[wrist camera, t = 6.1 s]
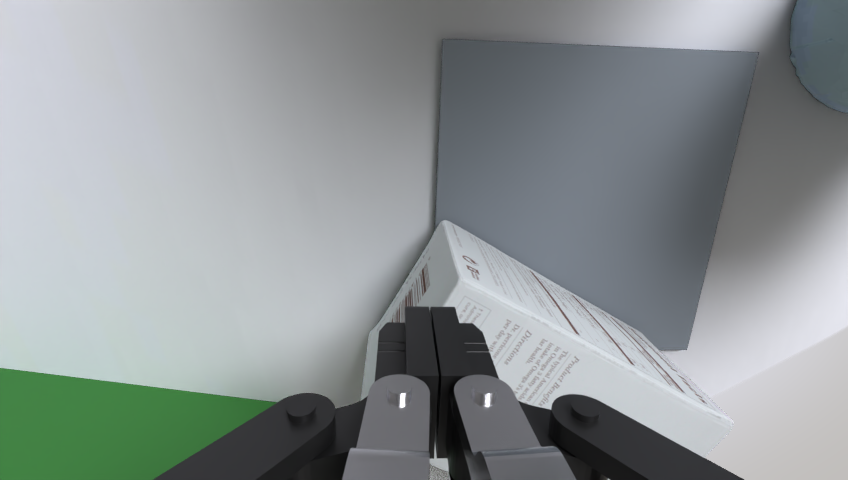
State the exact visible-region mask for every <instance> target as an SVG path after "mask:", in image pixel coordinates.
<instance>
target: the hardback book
mask: <svg viewBox="0 0 848 480" xmlns="http://www.w3.org/2000/svg"><path fill="white" fill-rule="evenodd" d="M276 403H277V402H269V401H261V400H253V399H245V398H237V397H229V396H221V395H213V394H205V393H197V392H189V391H181V390H173V389H165V388H157V387H149V386H141V385H133V384H125V383H117V382H109V381H100V380H92V379H84V378H76V377H68V376H60V375H52V374H44V373H36V372H28V371H20V370H12V369H4V368H0V480H153V479H154V478H156V477H158V476H159V475H161V474H162V473H164V472H166V471H167V470H169V469H171V468H172V467H174V466H175V465H177V464H179V463H180V462H182V461H184V460H185V459H187V458H188V457H190V456H192V455H193V454H195V453H197V452H198V451H200V450H201V449H203V448H205V447H206V446H208V445H209V444H211V443H213V442H214V441H216V440H218V439H219V438H221V437H222V436H224V435H226V434H227V433H229V432H231V431H232V430H234V429H235V428H237V427H239V426H240V425H242V424H244V423H245V422H247V421H248V420H250V419H252V418H253V417H255V416H257V415H258V414H260V413H261V412H263V411H265V410H266V409H268V408H269V407H271V406H273V405H274V404H276Z"/></svg>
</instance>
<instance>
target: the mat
mask: <svg viewBox="0 0 848 480" xmlns="http://www.w3.org/2000/svg"><path fill="white" fill-rule="evenodd" d="M758 55H759V52H741V51H717V50H693V49H670V48H646V47H622V46H599V45H575V44H552V43H528V42H504V41H481V40H457V39H443V43H442V67H441V91H440V115H439V139H438V163H437V187H436V211H435V230H436V228H437V227H438V225H439V224H440V222H441V221H443V220H447V221H450V222H451V223H453V224H455V225H457V226H459V227H461V228H462V229H464V230H466V231H468V232H469V233H471V234H473V235H474V236H476V237H478V238H479V239H481V240H483V241H484V242H486V243H488V244H490V245H491V246H493V247H495V248H496V249H498V250H500V251H501V252H503V253H505V254H506V255H508V256H510V257H511V258H513V259H515V260H517V261H518V262H520V263H522V264H523V265H525V266H527V267H528V268H530V269H532V270H533V271H535V272H537V273H539V274H540V275H542V276H544V277H545V278H547V279H549V280H551V281H552V282H554V283H556V284H557V285H559V286H561V287H563V288H564V289H566V290H568V291H570V292H571V293H573V294H575V295H577V296H579V297H580V298H582V299H584V300H586V301H587V302H589V303H591V304H593V305H594V306H596V307H598V308H600V309H601V310H603V311H605V312H607V313H608V314H610V315H612V316H613V317H615V318H617V319H619V320H620V321H622V322H624V323H626V324H627V325H629V326H631V327H633V328H634V329H636V330H638V331H639V332H641V333H642V334H643V335H644V336H645V337H646V338H647V339H648V340H649V341H650V342H651V343H652V344H653V345H654V346H655V347H656V348H657V349H658V350H687V348H688V343H689V339H690V335H691V331H692V327H693V323H694V319H695V315H696V310H697V306H698V302H699V298H700V294H701V290H702V286H703V282H704V277H705V273H706V269H707V265H708V261H709V257H710V253H711V249H712V244H713V240H714V236H715V232H716V228H717V224H718V220H719V216H720V211H721V207H722V203H723V199H724V195H725V191H726V187H727V183H728V178H729V174H730V170H731V166H732V162H733V158H734V154H735V150H736V145H737V141H738V137H739V133H740V129H741V125H742V121H743V117H744V112H745V108H746V104H747V100H748V96H749V92H750V88H751V84H752V79H753V75H754V71H755V67H756V63H757V59H758Z"/></svg>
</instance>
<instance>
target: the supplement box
mask: <svg viewBox="0 0 848 480" xmlns="http://www.w3.org/2000/svg"><path fill="white" fill-rule="evenodd" d="M405 306H424V307H429V310H430V307H455V309H456V313H457V316H458V320H459V323H473V324H474V325H475V326H476V327H477V328H479V329H480V330H481V331H482V332H483V335H484V337H485V340H486V344H487V346H488V349H489V353H490V354H491V357H492V360H493V363H494V366H495V369H496V372H497V374H498V377H499V379H500V380H502V381H504V382H505V383H507V384H508V385H509V386H510V387H511V389H512V390H513V392H514V394H515V396H516V398H517V400H518V401H520V402H523V403H526V404H528V405H532V406H537V407H541V408H546V409H550V410H551V407H552V403H553V402H554V400H555V399H556V398H558V397H560V396H563V395H567V394H579V395H585V396H588V397H592V398H594V399H597V400H599V401H601V402H603V403H604V404H606V405H608V406H610V407H612V408H614V409H615V410H617V411H619V412H621V413H623V414H625V415H626V416H628V417H630V418H632V419H634V420H636V421H637V422H639V423H641V424H643V425H645V426H647V427H648V428H650V429H652V430H654V431H656V432H658V433H659V434H661V435H663V436H665V437H667V438H669V439H670V440H672V441H674V442H676V443H678V444H680V445H681V446H683V447H685V448H687V449H689V450H691V451H692V452H694V453H696V454H698V455H700V456H702V457H703V458H705V456H706V455H707V454H708V453H709V452H710V451H711V450H712V449H713V448H714V447H715V446H717V444H719V442H720V441H721V440H722V439H723V438H724V437H725V436H726V435H727V434H728V433H729V432H730V431H731V430H732V428H733V425H734V422H733V420H732V419H731V418H730V417H729V416H728V415H727V414H726V413H725V412H724V411H723V410H722V409H721V408H720V407H718V405H716V404H715V403H714V402H713V401H712V400H711V399H710V398H709V397H708V396H707V395H706V394H705V393H704V392H703V391H702V390H701V389H700V388H699V387H697V386H696V385H695V384H694V383H693V382H692V381H691V380H690V379H689V378H688V377H687V376H686V375H685V374H684V373H683V372H682V371H680V370H679V369H678V368H677V367H676V366H675V365H674V364H673V363H672V362H671V361H670V360H669V359H668V358H667V357H666V356H664V355H663V354H662V353H661V352H660V351H659V350H658V349H657V348H656V347H655V346H654V345H653V344H652V343H651V342H650V341H649V340H648V339H647V338H646V337H645V336H644V335H643V334H642V333H641V332H639V331H638V330H636V329H634V328H633V327H631V326H629V325H627V324H626V323H624V322H622V321H620V320H619V319H617V318H615V317H613V316H612V315H610V314H608V313H607V312H605V311H603V310H601V309H600V308H598V307H596V306H594V305H593V304H591V303H589V302H587V301H586V300H584V299H582V298H580V297H579V296H577V295H575V294H573V293H571V292H570V291H568V290H566V289H564V288H563V287H561V286H559V285H557V284H556V283H554V282H552V281H551V280H549V279H547V278H545V277H544V276H542V275H540V274H539V273H537V272H535V271H533V270H532V269H530V268H528V267H527V266H525V265H523V264H522V263H520V262H518V261H517V260H515V259H513V258H511V257H510V256H508V255H506V254H505V253H503V252H501V251H500V250H498V249H496V248H495V247H493V246H491V245H490V244H488V243H486V242H484V241H483V240H481V239H479V238H478V237H476V236H474V235H473V234H471V233H469V232H468V231H466V230H464V229H462V228H461V227H459V226H457V225H455V224H453V223H451V222H450V221H447V220H443V221H441V222H440V224H439V225H438V227H437V228H436V230H435V232H434V234H433V236H432V238H431V240H430V241H429V243H428V245H427V246H426V248H425V250H424V251H423V253H422V254H421V256H420V258H419V259H418V261H417V263H416V264H415V266H414V267H413V269H412V271H411V272H410V274H409V276H408V277H407V279H406V280H405V282H404V284H403V285H402V287H401V288H400V290H399V292H398V293H397V295H396V297H395V298H394V300H393V301H392V303H391V305H390V306H389V308H388V309H387V311H386V313H385V314H384V316H383V317H382V319H381V320H380V321H379V323H378V324H377V325H376V326H375V327H374V328H373V329H372V330H371V331H370V333H369V338H368V344H367V353H366V360H365V367H364V377H363V383H362V393H361V400H363V399H364V398H366V397H367V396H368V393H369V390H370V387H371V386H372V384H373V383H374V382H375V371H376V360H377V349H378V337H379V331H380V330H381V328H382V327H383V326H384V325H385V324H386V323H387V322H400V323H404V315H405ZM430 465H432V466H434V467H436V468H439V469H441V470H443V471H445V472H448V468H449V467H448V459H447V458H437V456H436V446H435V450H434V459H430ZM608 480H610V479H608Z"/></svg>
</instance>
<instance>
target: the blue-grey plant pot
mask: <svg viewBox="0 0 848 480" xmlns="http://www.w3.org/2000/svg"><path fill="white" fill-rule="evenodd" d="M790 48H791V51H792V53H791V55H790V59H791V62H792V64H793V65H794V66H795V67H796V75H797V76H798V77H799V78H800V81H801V84H802V85H803V86H805V88H806V90H807V91H809V92H810V93H811V94H812V95H813V96H814V97H815V98H816V99H817V100H819V101H820V102H822V103H824V104H825V105H826V106H827V107H830V108H833V109H835V110H837V111H840V112H844V113H848V0H797V2H796V5H795V8H794V11H793V14H792V17H791V29H790Z"/></svg>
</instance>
